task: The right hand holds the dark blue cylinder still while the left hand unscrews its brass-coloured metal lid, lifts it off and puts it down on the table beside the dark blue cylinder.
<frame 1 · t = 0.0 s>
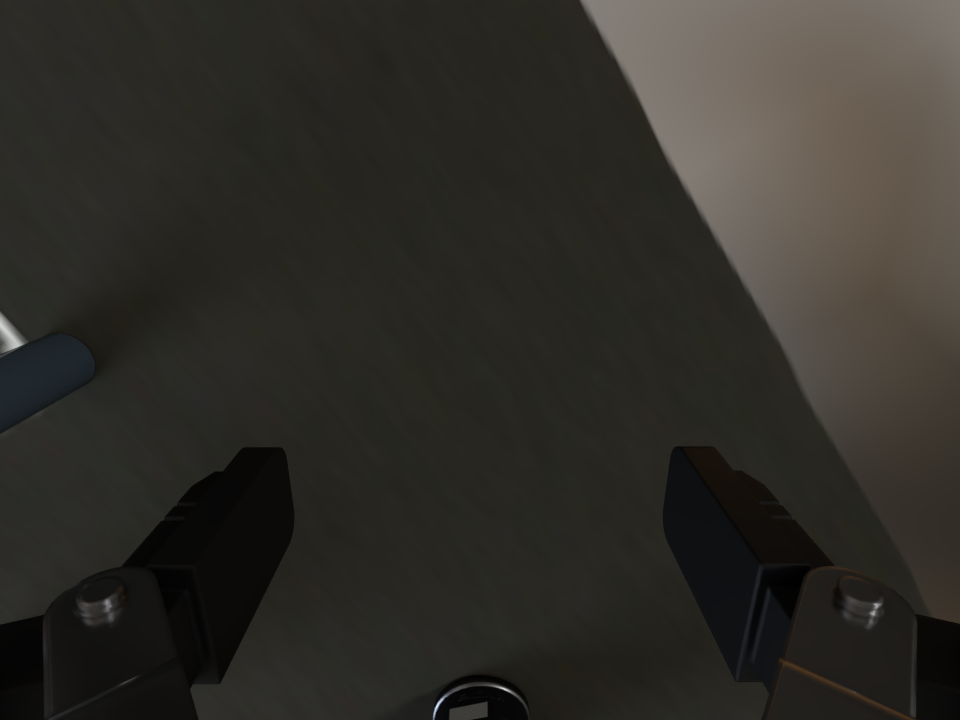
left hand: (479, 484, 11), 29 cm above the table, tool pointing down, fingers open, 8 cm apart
dark blue cylinder: (65, 360, 42), on the table
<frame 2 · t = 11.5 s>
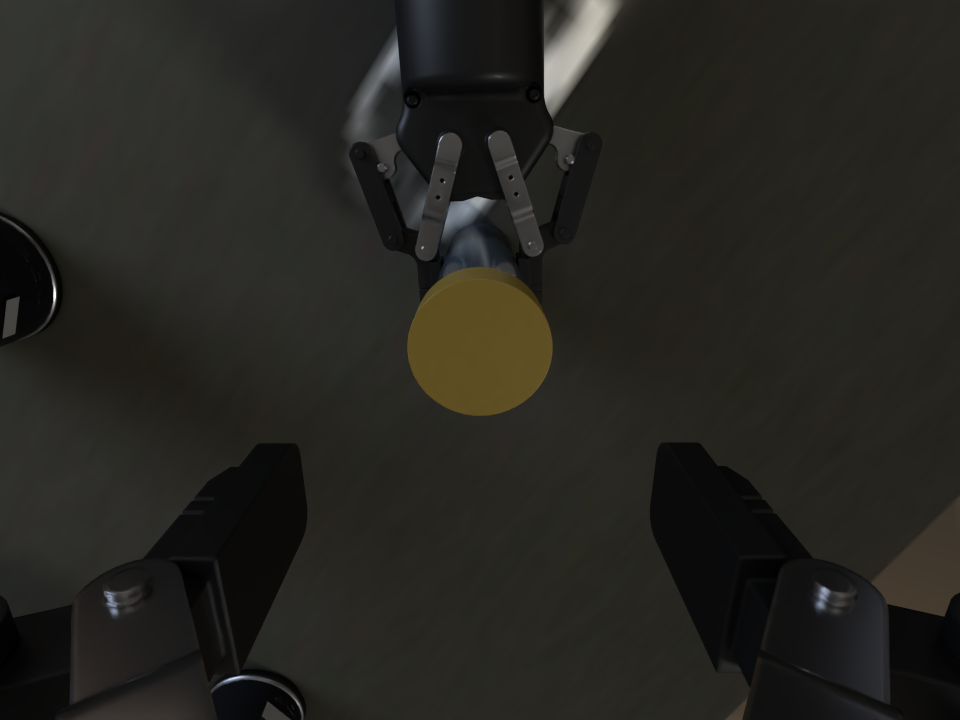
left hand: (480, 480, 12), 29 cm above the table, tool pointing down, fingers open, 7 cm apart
right hand: (482, 316, 33), fingers closed on dark blue cylinder, 4 cm apart
lid: (480, 347, 20), point 20 cm above the table, screwed on, not yet turned
dark blue cylinder: (480, 255, 38), on the table, touching right hand
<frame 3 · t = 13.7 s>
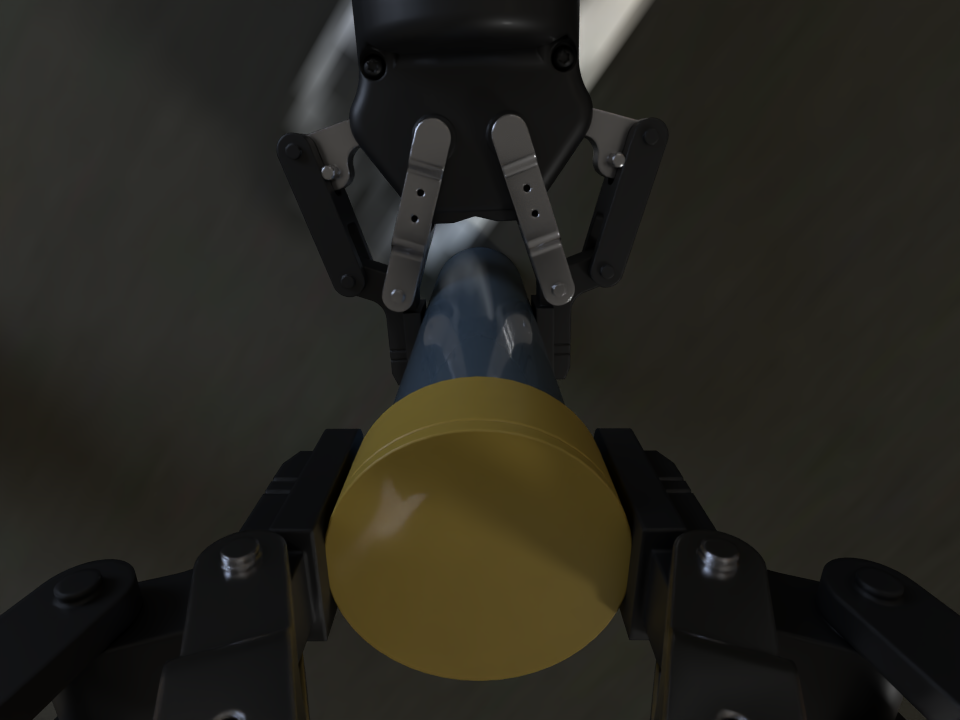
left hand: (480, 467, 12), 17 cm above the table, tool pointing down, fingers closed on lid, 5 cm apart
right hand: (482, 386, 23), fingers closed on dark blue cylinder, 4 cm apart
lid: (478, 553, 9), point 20 cm above the table, screwed on, not yet turned, touching left hand
dark blue cylinder: (479, 290, 28), on the table, touching right hand
when the left hand's fingers open (17 cm above the table, at t = 14.9 s): lid stays where it is, point 20 cm above the table.
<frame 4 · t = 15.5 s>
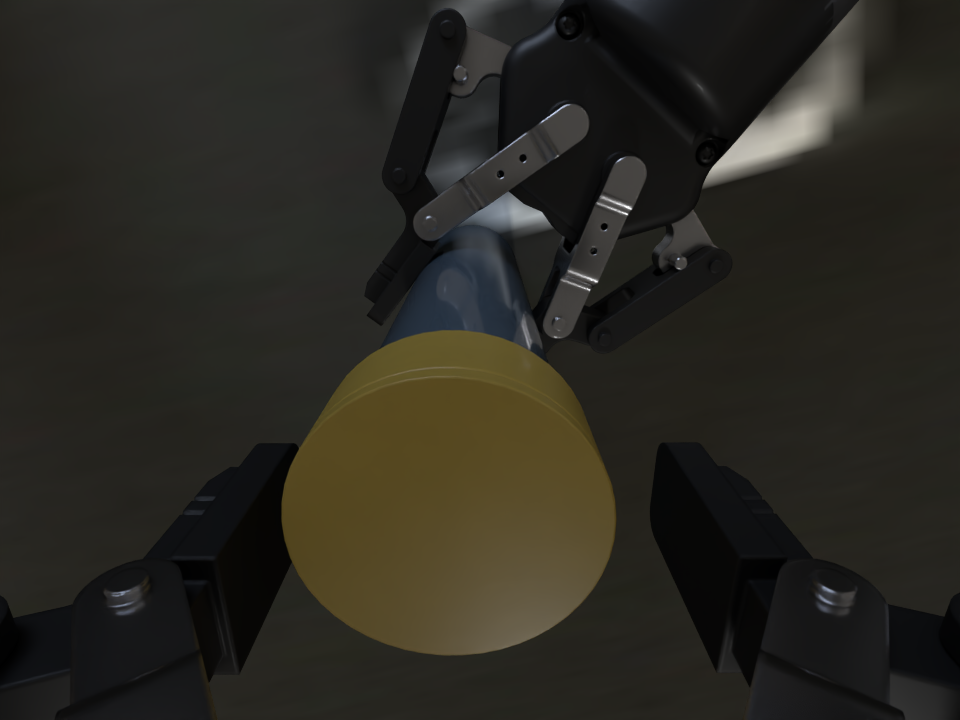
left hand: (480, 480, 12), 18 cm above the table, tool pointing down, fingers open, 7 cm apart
right hand: (430, 351, 22), fingers closed on dark blue cylinder, 4 cm apart
lid: (450, 517, 9), point 20 cm above the table, turned 66° so far, risen 0.2 cm, still on its thread
dark blue cylinder: (472, 270, 28), on the table, touching right hand
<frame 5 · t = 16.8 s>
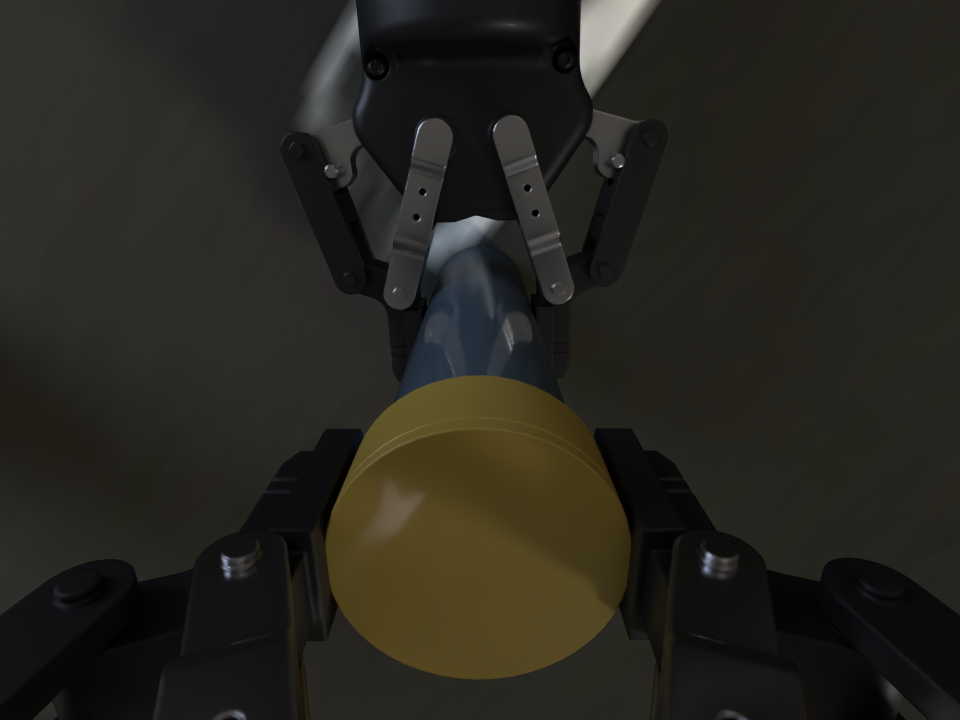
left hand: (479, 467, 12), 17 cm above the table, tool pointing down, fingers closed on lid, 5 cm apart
right hand: (482, 384, 23), fingers closed on dark blue cylinder, 4 cm apart
lid: (478, 552, 9), point 20 cm above the table, turned 66° so far, risen 0.2 cm, still on its thread, touching left hand
dark blue cylinder: (479, 289, 28), on the table, touching right hand
when the left hand's fingers open (0 cm above the table, at t = 23.7 s): lid drops 1 cm, point 2 cm above the table.
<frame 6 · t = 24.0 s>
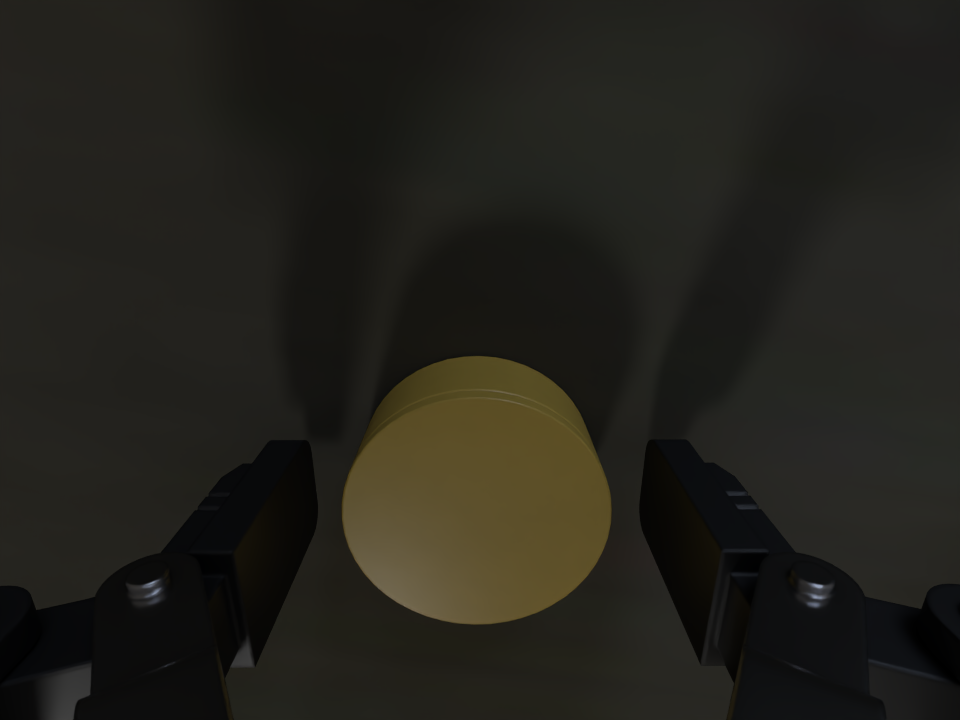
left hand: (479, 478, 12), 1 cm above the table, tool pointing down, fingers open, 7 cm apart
lid: (476, 510, 11), point 2 cm above the table, off its thread
when the right hand's fingers open (6 cm above the table, at t = 24.8 s): dark blue cylinder stays where it is, on the table.
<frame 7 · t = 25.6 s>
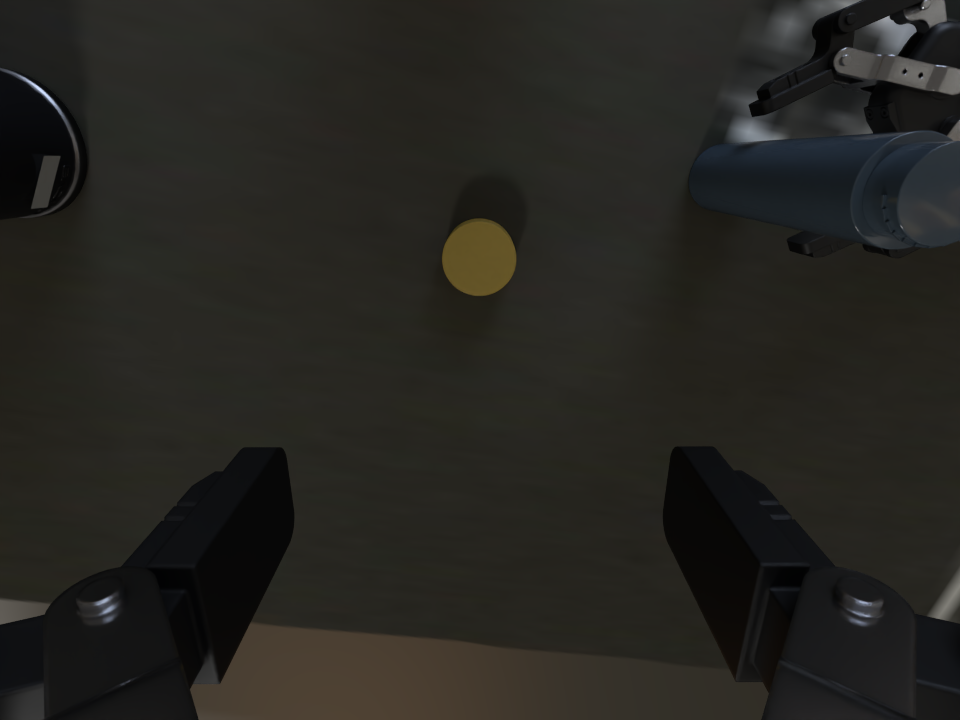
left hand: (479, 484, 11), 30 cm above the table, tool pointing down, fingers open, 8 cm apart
lid: (479, 258, 38), point 2 cm above the table, off its thread
dark blue cylinder: (720, 177, 38), on the table
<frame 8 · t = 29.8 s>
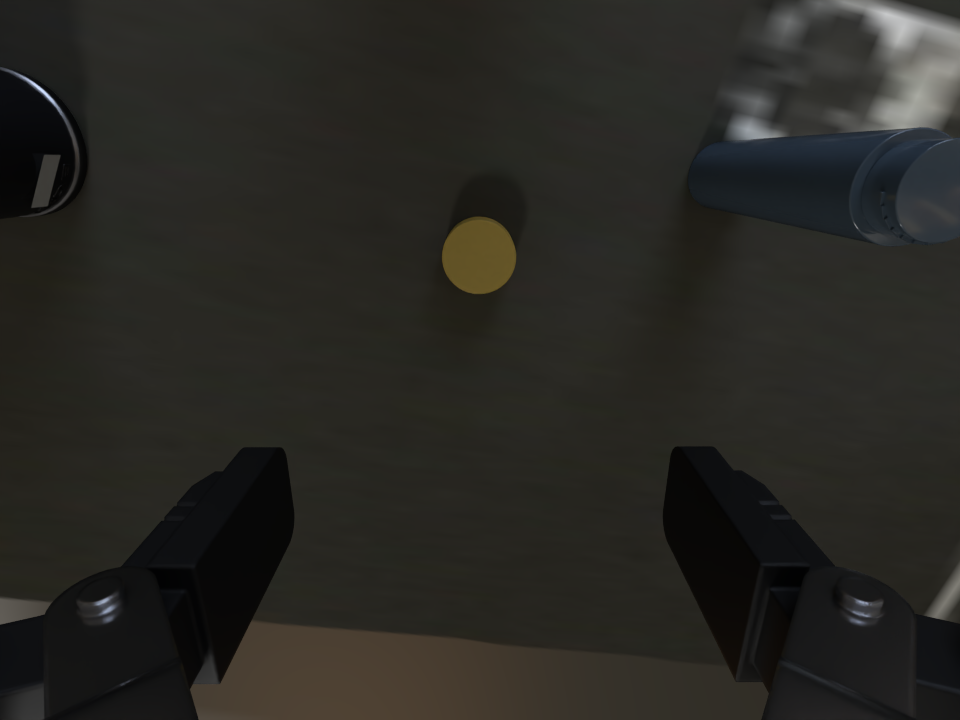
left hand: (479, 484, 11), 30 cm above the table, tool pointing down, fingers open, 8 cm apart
lid: (479, 256, 38), point 2 cm above the table, off its thread
dark blue cylinder: (719, 175, 38), on the table
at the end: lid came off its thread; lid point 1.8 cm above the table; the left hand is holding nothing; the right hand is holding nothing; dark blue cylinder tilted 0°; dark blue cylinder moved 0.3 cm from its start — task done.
